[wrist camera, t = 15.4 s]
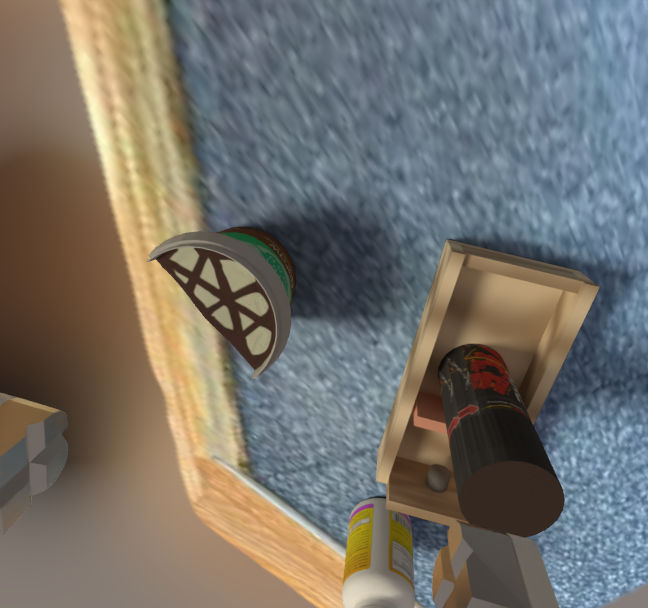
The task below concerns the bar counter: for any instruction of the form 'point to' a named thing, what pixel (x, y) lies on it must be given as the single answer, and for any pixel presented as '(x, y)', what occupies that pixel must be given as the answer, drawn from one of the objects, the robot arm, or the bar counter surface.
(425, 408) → the plate
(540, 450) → the deodorant
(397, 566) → the supplement bottle
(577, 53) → the bar counter surface
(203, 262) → the food container
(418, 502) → the tray
